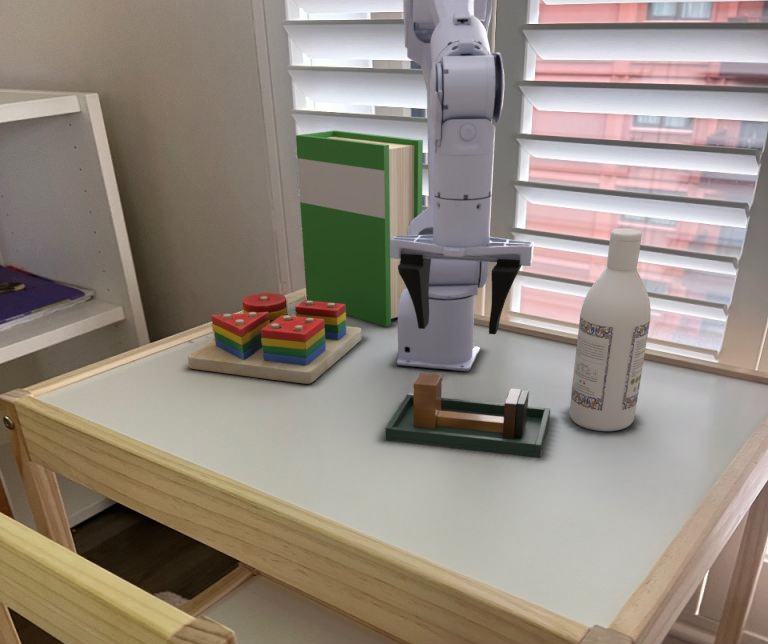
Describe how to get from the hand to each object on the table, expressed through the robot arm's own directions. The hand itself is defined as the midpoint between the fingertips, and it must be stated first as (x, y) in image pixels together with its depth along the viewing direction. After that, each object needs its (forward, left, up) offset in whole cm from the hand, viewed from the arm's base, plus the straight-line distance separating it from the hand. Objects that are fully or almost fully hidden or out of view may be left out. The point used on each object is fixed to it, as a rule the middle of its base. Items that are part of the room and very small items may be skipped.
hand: (458, 328), depth 86 cm
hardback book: (-21, +33, -10) cm, 40 cm away
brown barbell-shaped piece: (+3, -5, -9) cm, 11 cm away
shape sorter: (-27, +12, -10) cm, 31 cm away
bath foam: (+16, +1, -10) cm, 19 cm away
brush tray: (+2, -5, -9) cm, 11 cm away
